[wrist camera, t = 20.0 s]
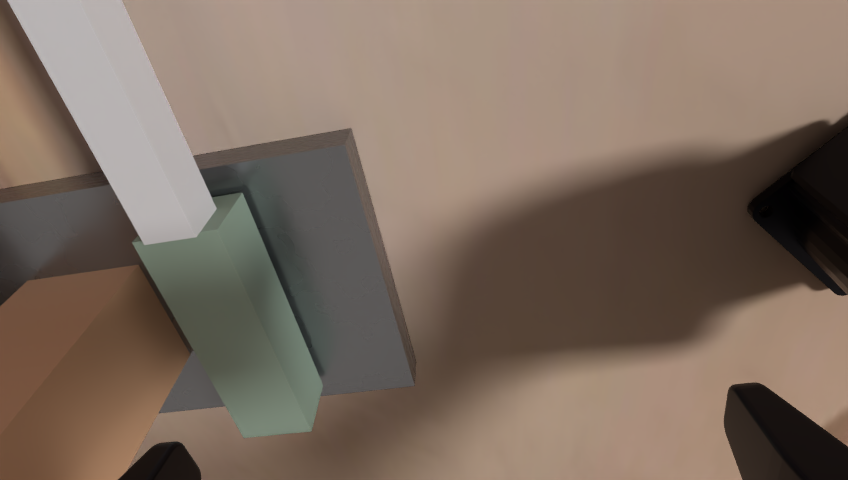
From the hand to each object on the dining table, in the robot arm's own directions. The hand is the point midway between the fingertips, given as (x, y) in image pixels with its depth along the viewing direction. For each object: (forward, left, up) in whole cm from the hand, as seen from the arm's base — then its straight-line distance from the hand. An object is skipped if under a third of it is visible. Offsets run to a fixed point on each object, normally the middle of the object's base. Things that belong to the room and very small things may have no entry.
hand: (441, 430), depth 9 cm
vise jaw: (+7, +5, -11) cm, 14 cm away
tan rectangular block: (+6, +15, -12) cm, 20 cm away
